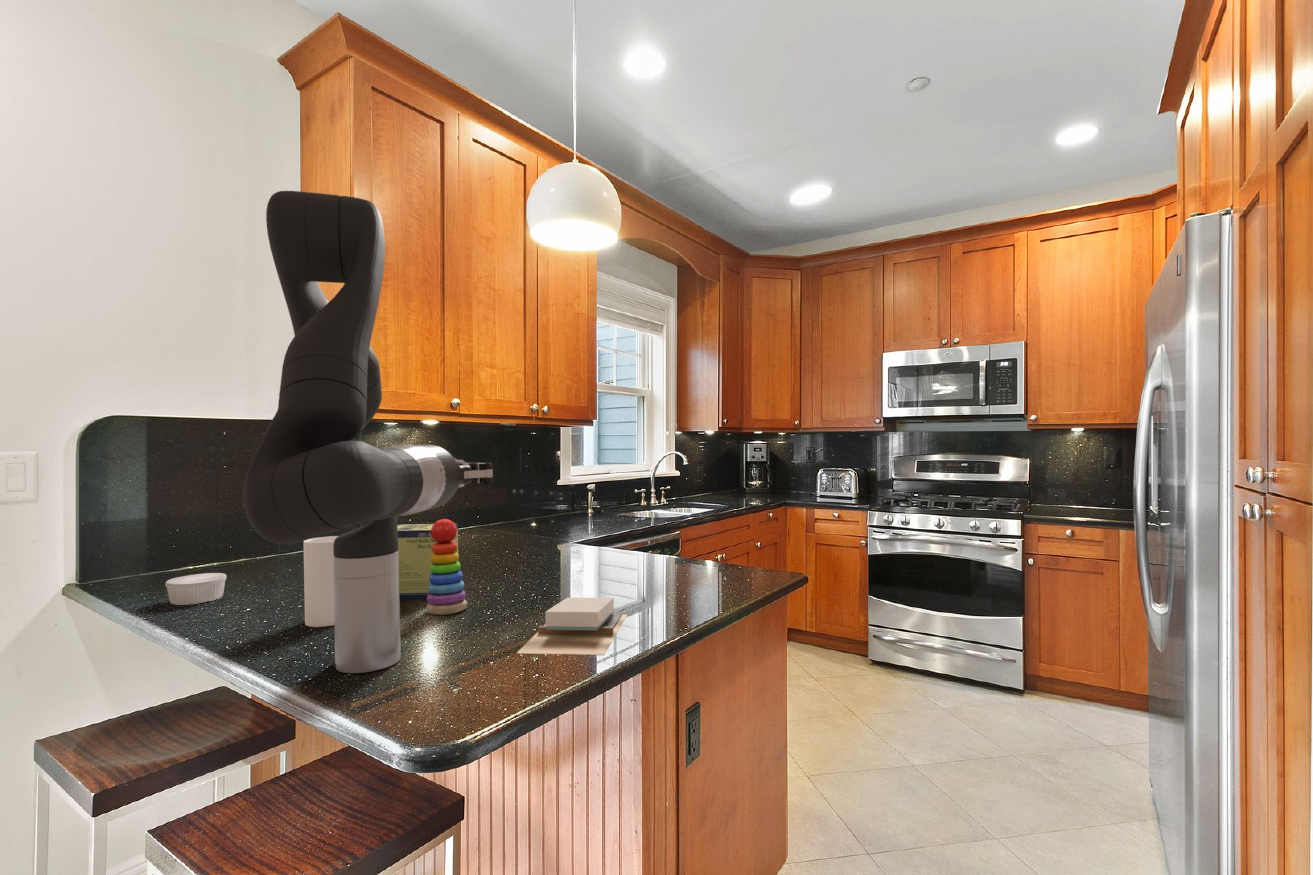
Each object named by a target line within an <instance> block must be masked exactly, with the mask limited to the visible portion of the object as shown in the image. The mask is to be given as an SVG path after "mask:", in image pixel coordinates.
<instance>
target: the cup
mask: <svg viewBox="0 0 1313 875" xmlns="http://www.w3.org/2000/svg"><path fill="white" fill-rule="evenodd" d="M338 536H339V535H331V536H321V537H320V536H318V537H315V538H312V539H308V540H305V541H303V580H304V581H303V583H304V584H303V586H304V587H303V588H304V592H303V594H304V625H305V626H307V627H310V628H311V627H312V628H320V627H321V628H323V627H330V626H334V604H335V598H334V553H333V544H334V540H335V539H336V538H337V537H338Z"/></svg>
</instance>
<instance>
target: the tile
mask: <svg viewBox="0 0 1313 875" xmlns="http://www.w3.org/2000/svg"><path fill="white" fill-rule="evenodd" d="M614 601H615V600H614V597H566V598H565V599H563V600H562V601H559V602H558V603H557V604H555V605H554V606H552V607H551V608H549V609H547V610H546V611H545V621H544V622H545V624H544V625H545V626H547V630H598V629H599V628H600V627H601V626H602V625H603V624H604V623H605V622H606V621H607V619H608V618H609V617H610V616H611V615H612V613H613V612H614V611H615V610H614V609H615V608H614Z"/></svg>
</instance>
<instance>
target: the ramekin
mask: <svg viewBox="0 0 1313 875" xmlns="http://www.w3.org/2000/svg"><path fill="white" fill-rule="evenodd" d="M227 577H228V576H227V574H226V573H222V572H207V573H206V572H205V573H197V574H190V575H183V576H178V577H173V578H170V579H168V580H167V581H165V588H166V591H167V596H168V600H169V603H170V604H171V605H172V604H175V605H189V604H198V603H203V602H207V601H213V602H215V601H214V600H216V599H218V600H220V599H221V598H222V597H223V596H224V591H225V585H226V580H227ZM219 598H220V599H219ZM216 601H217V600H216ZM198 605H199V604H198Z"/></svg>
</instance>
